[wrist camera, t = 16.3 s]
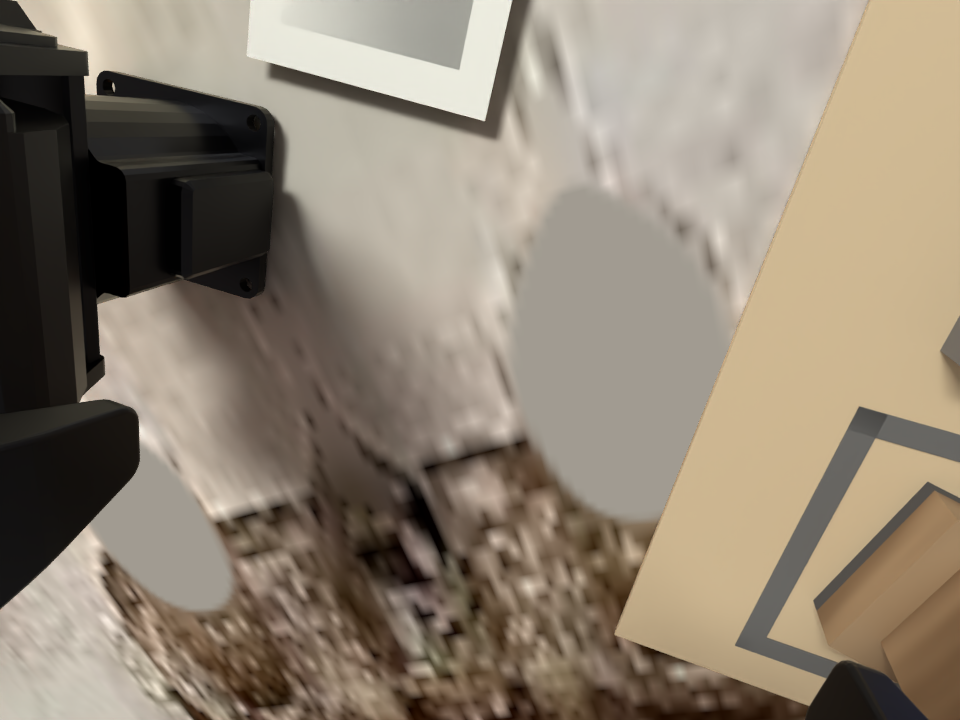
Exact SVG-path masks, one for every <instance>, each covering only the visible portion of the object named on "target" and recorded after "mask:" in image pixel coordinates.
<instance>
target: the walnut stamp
mask: <svg viewBox="0 0 960 720" xmlns="http://www.w3.org/2000/svg"><path fill="white" fill-rule="evenodd" d="M813 602H814V605H815V608H816V611H817V614H818V617H819V620H820V623H821V625H822V628H823V631H824V634H825V637H826V640H827V643H828V646H829V647H831V648H833V649H835V650H837V651H839V652H841V653H842V654H844V655H846V656H848V657H850V658H852V659H854V660H855V661H857V662H859V663H861V664H863V665H865V666H867V667H870V668H873V669H876V670H879V671H881V672H883V673H884V674H886V675H887V676H888V677H889V678H890V679H891V680H893V681H894V682H896V683H898V684H899V685H900V687H901V690H902V692H903V693H904V694H905V695H906V696H907V697H908V698H909V699H910V700H911V701H912V702H913V703H914V704H915V706H916V707H917V708H918V709H919V710H920V711H921V712H922V713H923V714H924V715H925V716H926V717H927V718H928V719H929V720H960V498H959V497H957V496H955V495H953V494H951V493H949V492H947V491H945V490H943V489H941V488H939V487H937V486H935V485H933V484H931V483H930V482H927V483H926V484H925V485H924V486H923V487H922V488H921V489H920V490H919V491H918V492H917V493H916V494H915V495H914V496H913V497H912V498H911V499H910V500H909V501H908V502H907V503H906V504H905V505H904V507H903V508H902V509H901V510H900V511H899V512H898V513H897V514H896V515H895V516H894V517H893V518H892V519H891V520H890V521H889V522H888V523H887V524H886V525H885V526H884V527H883V528H882V529H881V530H880V531H879V532H878V534H877V535H876V536H875V537H874V538H873V539H872V540H871V541H870V542H869V543H868V544H867V545H866V546H865V547H864V548H863V549H862V550H861V551H860V552H859V553H858V554H857V555H856V556H855V557H854V558H853V559H852V560H851V562H850V563H849V564H848V565H847V566H846V567H845V568H844V569H843V570H842V571H841V572H840V573H839V574H838V575H837V576H836V577H835V578H834V579H833V580H832V581H831V582H830V583H829V584H828V585H827V586H826V587H825V589H824V590H823V591H822V592H821V593H820V594H819V595H818V596H817V597H816V598H815V599H814V600H813Z"/></svg>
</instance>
